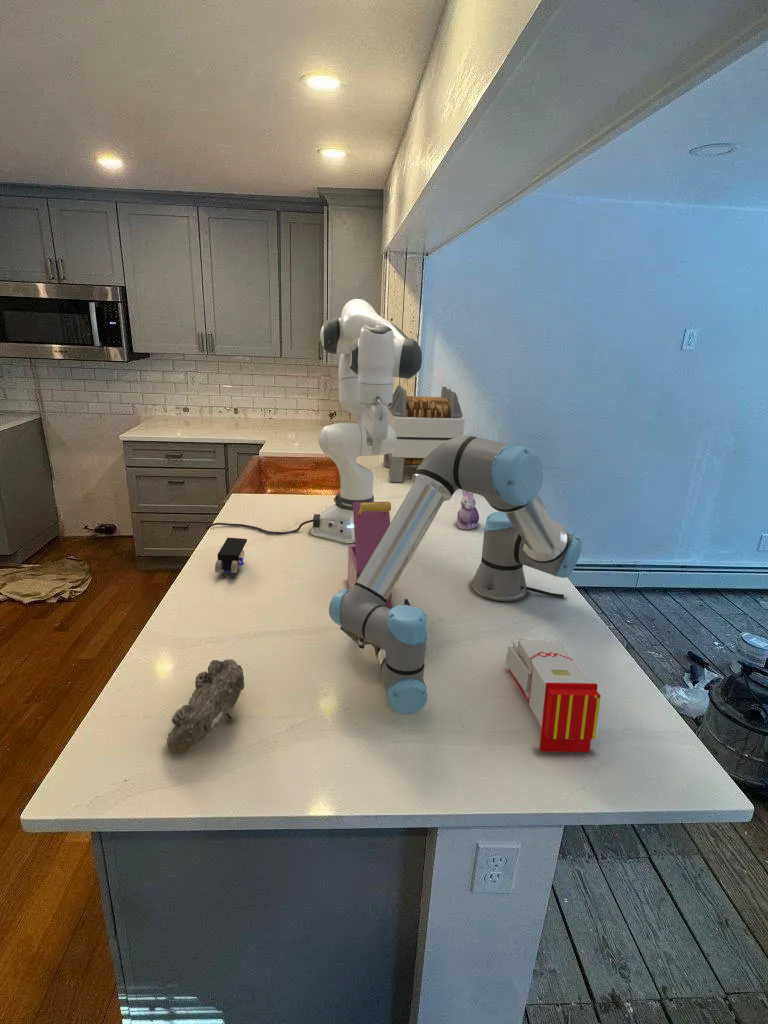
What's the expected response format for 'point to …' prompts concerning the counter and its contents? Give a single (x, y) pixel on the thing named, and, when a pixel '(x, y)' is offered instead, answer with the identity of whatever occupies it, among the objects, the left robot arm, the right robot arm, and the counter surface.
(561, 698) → the toy
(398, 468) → the transformer
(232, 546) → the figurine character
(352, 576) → the chest
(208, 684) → the fossil
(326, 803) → the counter surface
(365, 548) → the lid
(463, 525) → the figurine
